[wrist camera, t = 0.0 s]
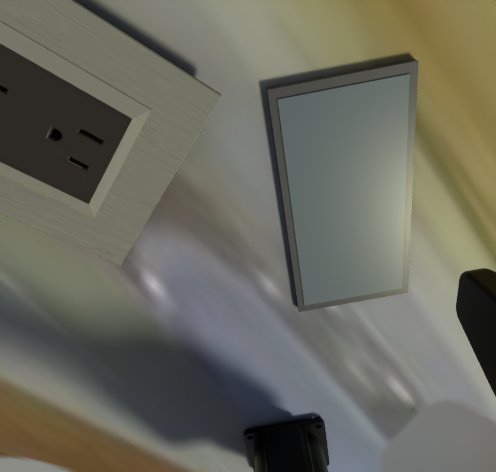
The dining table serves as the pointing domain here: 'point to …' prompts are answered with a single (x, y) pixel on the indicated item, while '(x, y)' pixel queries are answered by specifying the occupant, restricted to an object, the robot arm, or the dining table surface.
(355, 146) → the plate
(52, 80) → the electrical outlet
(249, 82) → the dining table surface
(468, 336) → the robot arm
